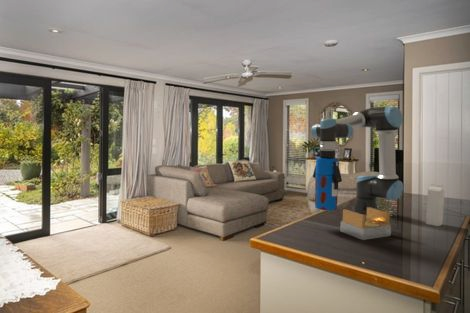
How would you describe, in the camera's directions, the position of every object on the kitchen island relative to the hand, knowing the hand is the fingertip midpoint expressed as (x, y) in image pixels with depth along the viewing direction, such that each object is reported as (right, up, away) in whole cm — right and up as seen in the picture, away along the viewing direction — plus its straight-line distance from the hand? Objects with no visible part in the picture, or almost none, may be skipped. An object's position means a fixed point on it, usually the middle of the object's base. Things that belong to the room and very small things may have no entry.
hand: (326, 193), depth 157 cm
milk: (+63, -19, +15) cm, 68 cm away
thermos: (0, -7, +1) cm, 7 cm away
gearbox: (+17, -18, -6) cm, 26 cm away
